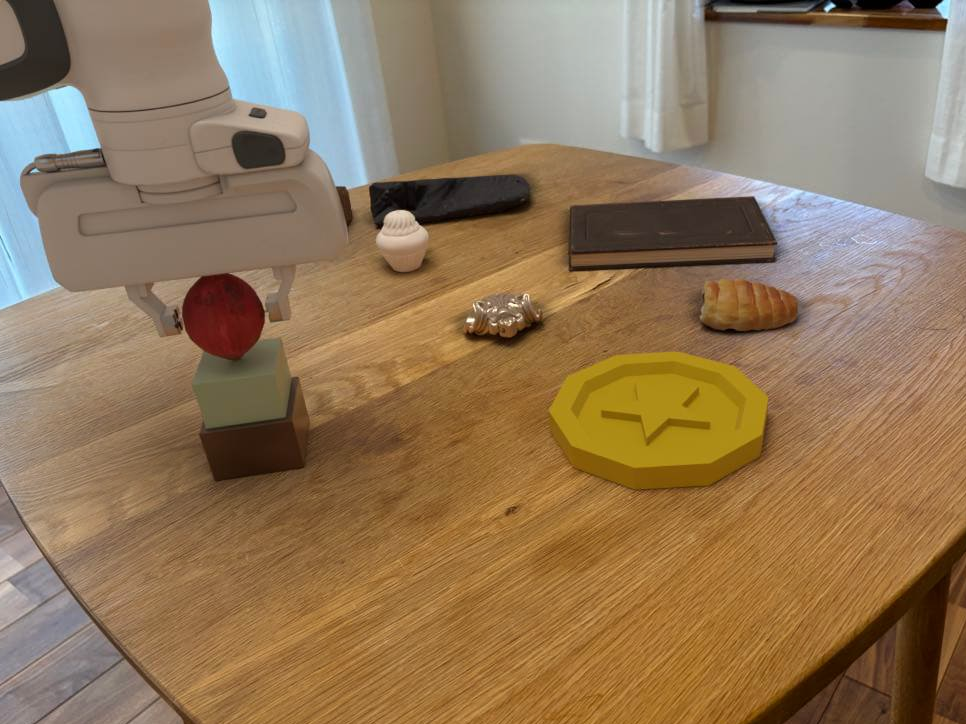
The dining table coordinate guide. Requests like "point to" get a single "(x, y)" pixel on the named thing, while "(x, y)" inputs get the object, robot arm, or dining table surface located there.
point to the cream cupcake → (402, 241)
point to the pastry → (746, 305)
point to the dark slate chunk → (448, 197)
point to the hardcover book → (669, 234)
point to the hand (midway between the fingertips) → (227, 325)
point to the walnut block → (259, 442)
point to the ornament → (501, 315)
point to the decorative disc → (659, 420)
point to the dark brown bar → (345, 202)
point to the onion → (223, 315)
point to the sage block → (244, 386)
